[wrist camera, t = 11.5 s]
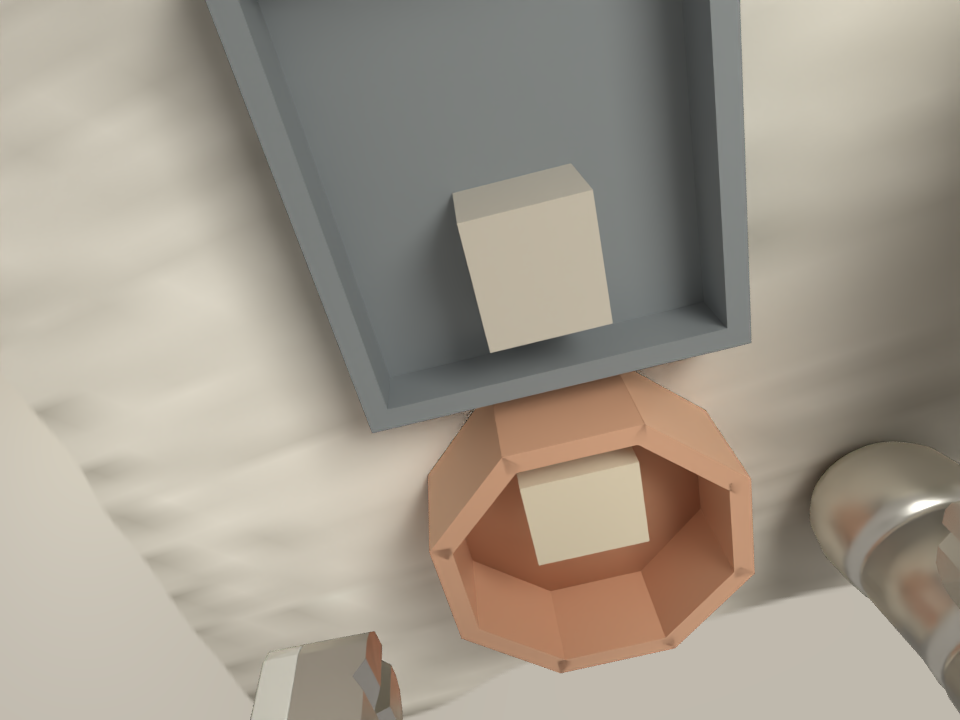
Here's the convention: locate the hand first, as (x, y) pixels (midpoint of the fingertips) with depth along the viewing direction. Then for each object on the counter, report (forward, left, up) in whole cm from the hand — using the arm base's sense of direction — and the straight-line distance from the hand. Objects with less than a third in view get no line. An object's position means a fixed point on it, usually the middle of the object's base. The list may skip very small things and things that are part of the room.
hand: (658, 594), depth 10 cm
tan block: (+10, 0, -16) cm, 19 cm away
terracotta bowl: (+12, 0, -16) cm, 20 cm away
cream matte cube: (0, 0, -16) cm, 16 cm away
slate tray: (-3, 0, -16) cm, 17 cm away
